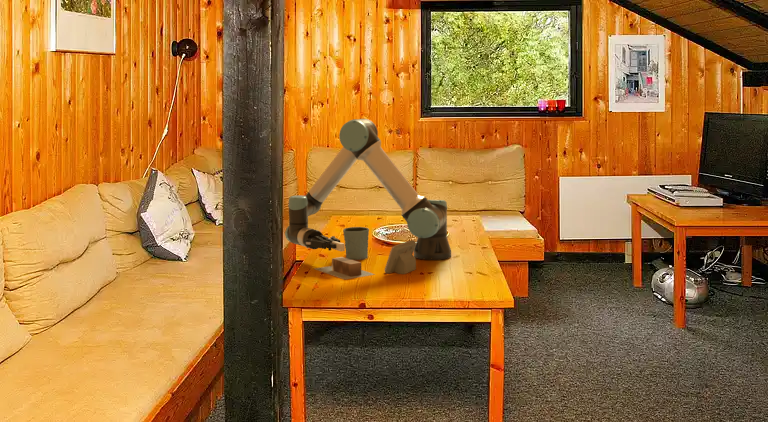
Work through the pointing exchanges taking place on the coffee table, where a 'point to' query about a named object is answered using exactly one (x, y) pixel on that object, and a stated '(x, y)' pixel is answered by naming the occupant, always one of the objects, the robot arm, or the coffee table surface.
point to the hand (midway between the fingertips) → (342, 247)
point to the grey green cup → (356, 242)
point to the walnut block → (346, 266)
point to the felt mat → (340, 275)
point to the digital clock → (401, 258)
